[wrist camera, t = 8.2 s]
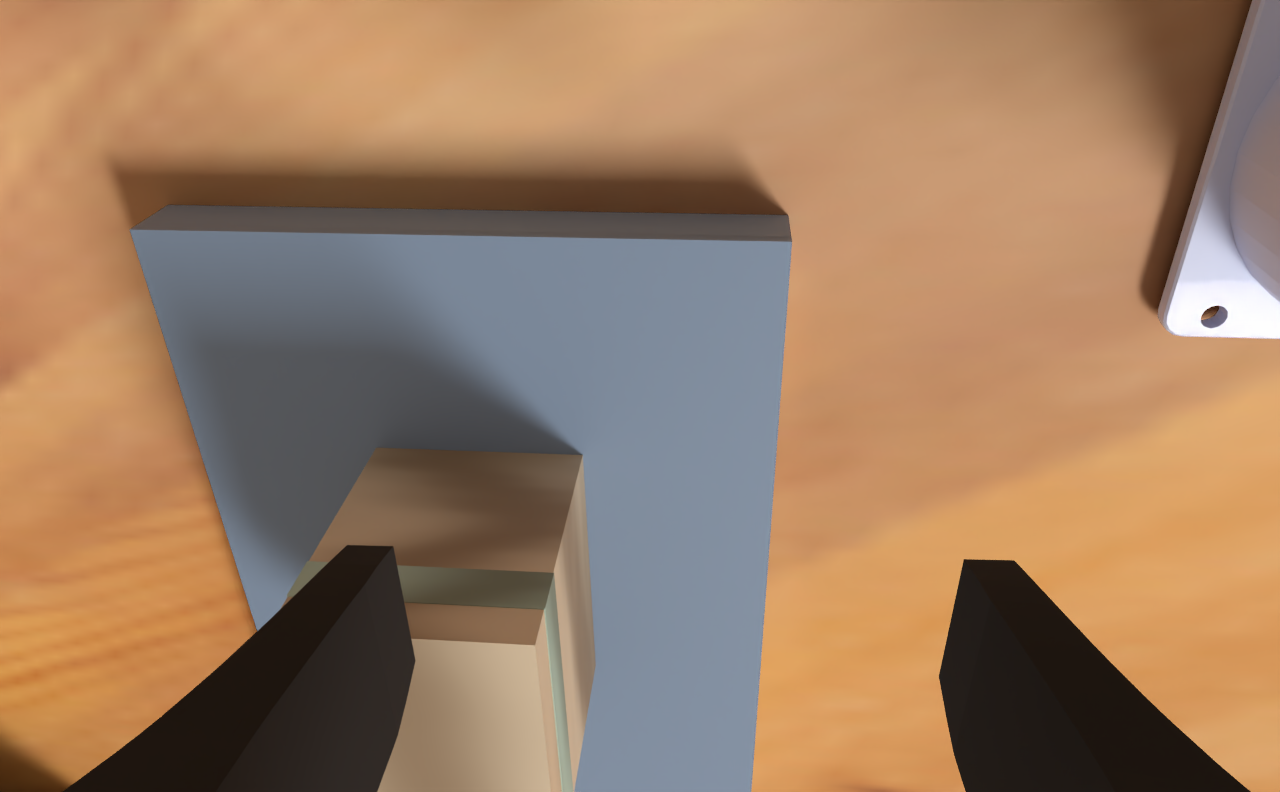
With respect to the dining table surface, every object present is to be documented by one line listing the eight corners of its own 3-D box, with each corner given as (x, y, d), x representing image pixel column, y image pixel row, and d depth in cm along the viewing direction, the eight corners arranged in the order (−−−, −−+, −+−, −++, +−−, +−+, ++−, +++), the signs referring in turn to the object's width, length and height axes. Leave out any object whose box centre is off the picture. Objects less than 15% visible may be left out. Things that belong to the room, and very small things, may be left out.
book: (786, 207, 20) (791, 241, 18) (749, 748, 29) (750, 803, 28) (178, 198, 21) (129, 229, 20) (326, 720, 31) (302, 773, 29)
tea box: (583, 454, 22) (536, 644, 17) (596, 665, 25) (560, 875, 20) (375, 446, 22) (266, 630, 17) (417, 655, 26) (337, 858, 21)
